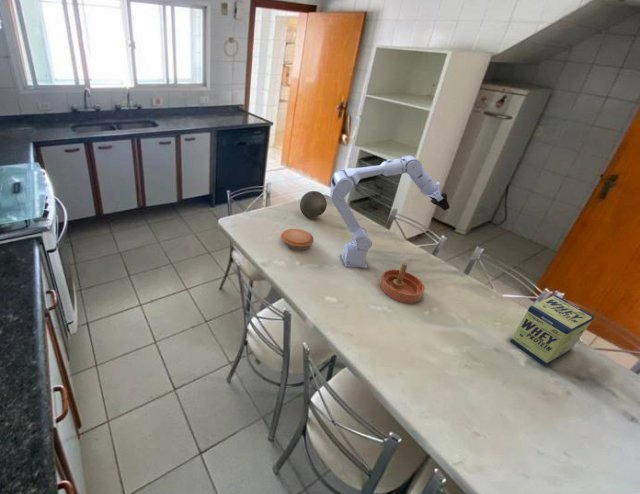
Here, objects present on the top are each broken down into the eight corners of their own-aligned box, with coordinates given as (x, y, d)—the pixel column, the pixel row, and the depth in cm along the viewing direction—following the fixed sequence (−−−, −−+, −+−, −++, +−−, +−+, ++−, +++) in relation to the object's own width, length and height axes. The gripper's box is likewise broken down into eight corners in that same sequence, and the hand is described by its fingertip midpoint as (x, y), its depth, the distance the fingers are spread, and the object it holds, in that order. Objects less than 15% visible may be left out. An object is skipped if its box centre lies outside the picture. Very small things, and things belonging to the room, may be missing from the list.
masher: (394, 288, 130) (401, 266, 125) (391, 281, 133) (397, 260, 129) (404, 288, 130) (412, 267, 125) (400, 282, 133) (408, 261, 129)
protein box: (508, 341, 109) (529, 306, 102) (534, 327, 115) (555, 293, 108) (544, 367, 101) (569, 330, 94) (571, 351, 107) (596, 315, 100)
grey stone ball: (298, 221, 176) (301, 196, 169) (298, 209, 189) (301, 185, 182) (324, 224, 174) (329, 199, 168) (323, 212, 187) (327, 188, 180)
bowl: (387, 302, 123) (390, 293, 121) (374, 276, 137) (377, 268, 135) (428, 305, 123) (431, 296, 121) (411, 279, 136) (414, 270, 134)
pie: (317, 241, 159) (319, 232, 157) (305, 256, 147) (306, 247, 145) (288, 231, 166) (289, 223, 164) (274, 245, 154) (275, 236, 152)
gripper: (441, 181, 118) (461, 206, 122) (425, 167, 131) (443, 190, 135) (424, 193, 121) (443, 217, 124) (409, 179, 134) (427, 201, 137)
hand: (442, 204), depth 130 cm, fingers open, 7 cm apart
